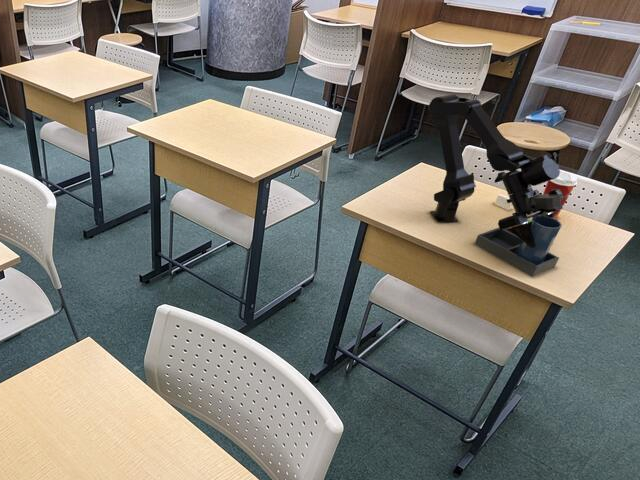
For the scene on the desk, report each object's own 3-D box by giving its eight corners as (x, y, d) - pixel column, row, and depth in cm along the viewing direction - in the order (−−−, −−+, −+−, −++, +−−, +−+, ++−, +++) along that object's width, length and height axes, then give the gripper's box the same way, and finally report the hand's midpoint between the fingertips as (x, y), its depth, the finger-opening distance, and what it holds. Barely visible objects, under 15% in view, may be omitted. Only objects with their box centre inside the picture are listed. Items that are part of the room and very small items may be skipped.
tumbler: (511, 252, 158) (530, 213, 150) (538, 256, 156) (557, 217, 149) (516, 265, 153) (535, 226, 145) (543, 270, 151) (564, 230, 143)
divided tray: (474, 244, 163) (478, 234, 161) (495, 236, 166) (499, 226, 164) (532, 277, 150) (537, 267, 148) (554, 267, 153) (559, 257, 151)
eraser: (496, 203, 183) (500, 193, 181) (510, 209, 179) (514, 199, 177) (494, 204, 182) (497, 194, 180) (508, 210, 179) (512, 200, 177)
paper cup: (563, 222, 172) (583, 182, 164) (537, 220, 173) (555, 180, 165) (554, 210, 178) (572, 171, 170) (528, 208, 180) (545, 169, 171)
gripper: (524, 189, 140) (548, 245, 139) (570, 173, 147) (593, 227, 145) (487, 202, 151) (509, 255, 149) (531, 187, 157) (552, 238, 156)
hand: (542, 244), depth 150 cm, fingers closed on tumbler, 7 cm apart
